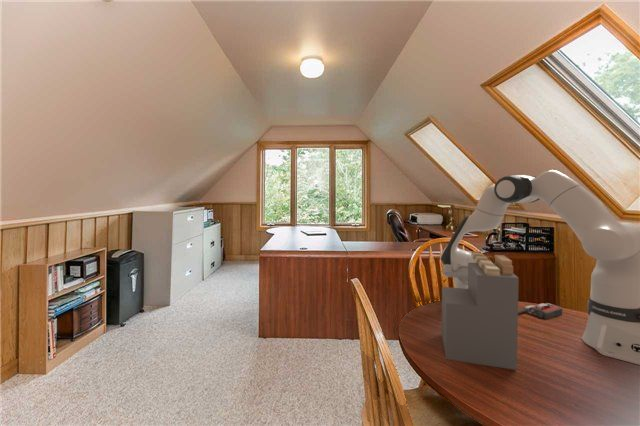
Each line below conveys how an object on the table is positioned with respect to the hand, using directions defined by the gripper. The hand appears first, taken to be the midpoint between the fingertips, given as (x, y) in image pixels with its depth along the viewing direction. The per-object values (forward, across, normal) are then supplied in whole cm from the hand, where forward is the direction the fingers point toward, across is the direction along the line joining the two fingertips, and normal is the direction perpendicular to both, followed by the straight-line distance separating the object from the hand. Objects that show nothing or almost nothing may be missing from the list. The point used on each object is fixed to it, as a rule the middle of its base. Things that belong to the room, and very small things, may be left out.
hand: (472, 266), depth 112 cm
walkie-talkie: (-21, +26, +13) cm, 36 cm away
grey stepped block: (+11, -3, +31) cm, 33 cm away
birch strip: (+20, 0, +6) cm, 21 cm away
